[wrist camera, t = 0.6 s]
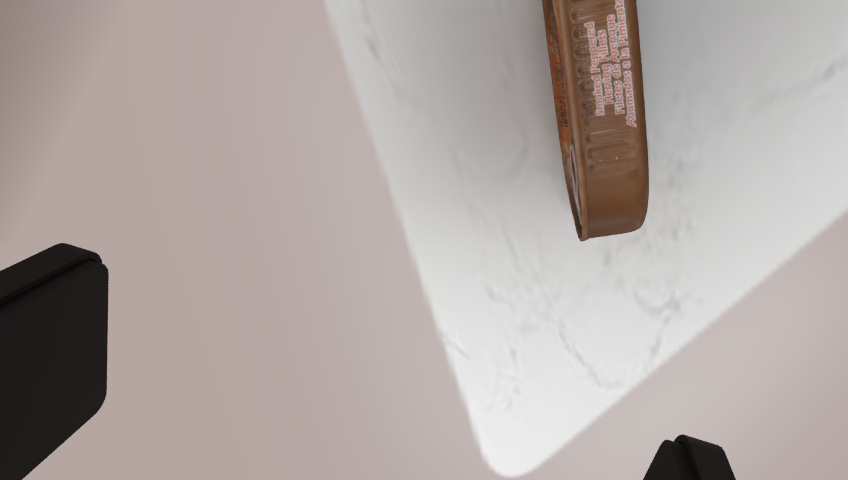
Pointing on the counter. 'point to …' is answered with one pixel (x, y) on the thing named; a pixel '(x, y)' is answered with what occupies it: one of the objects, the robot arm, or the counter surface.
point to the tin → (600, 112)
